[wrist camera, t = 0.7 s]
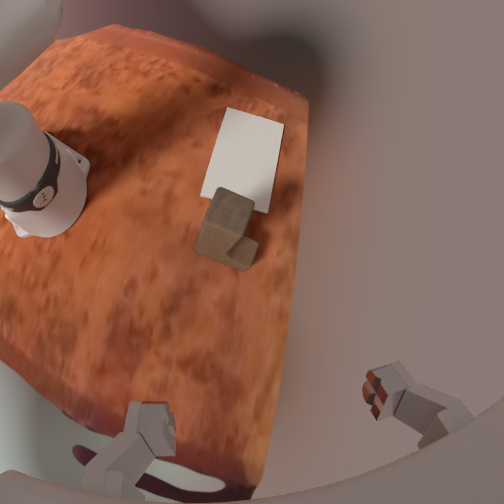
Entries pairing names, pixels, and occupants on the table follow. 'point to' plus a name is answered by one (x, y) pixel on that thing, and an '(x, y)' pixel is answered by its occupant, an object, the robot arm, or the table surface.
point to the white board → (245, 158)
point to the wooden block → (227, 230)
